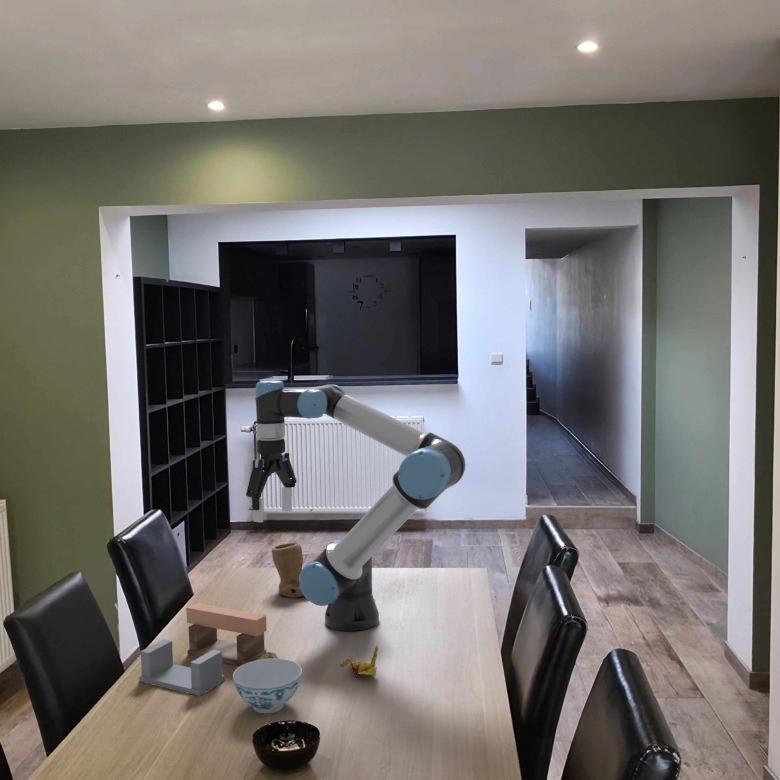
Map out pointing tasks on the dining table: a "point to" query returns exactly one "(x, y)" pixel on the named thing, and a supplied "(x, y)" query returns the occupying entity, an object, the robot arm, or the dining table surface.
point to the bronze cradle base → (225, 645)
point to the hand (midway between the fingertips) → (273, 516)
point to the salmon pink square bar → (226, 619)
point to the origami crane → (362, 665)
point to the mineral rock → (267, 656)
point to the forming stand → (180, 669)
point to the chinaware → (267, 683)
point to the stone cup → (288, 568)
